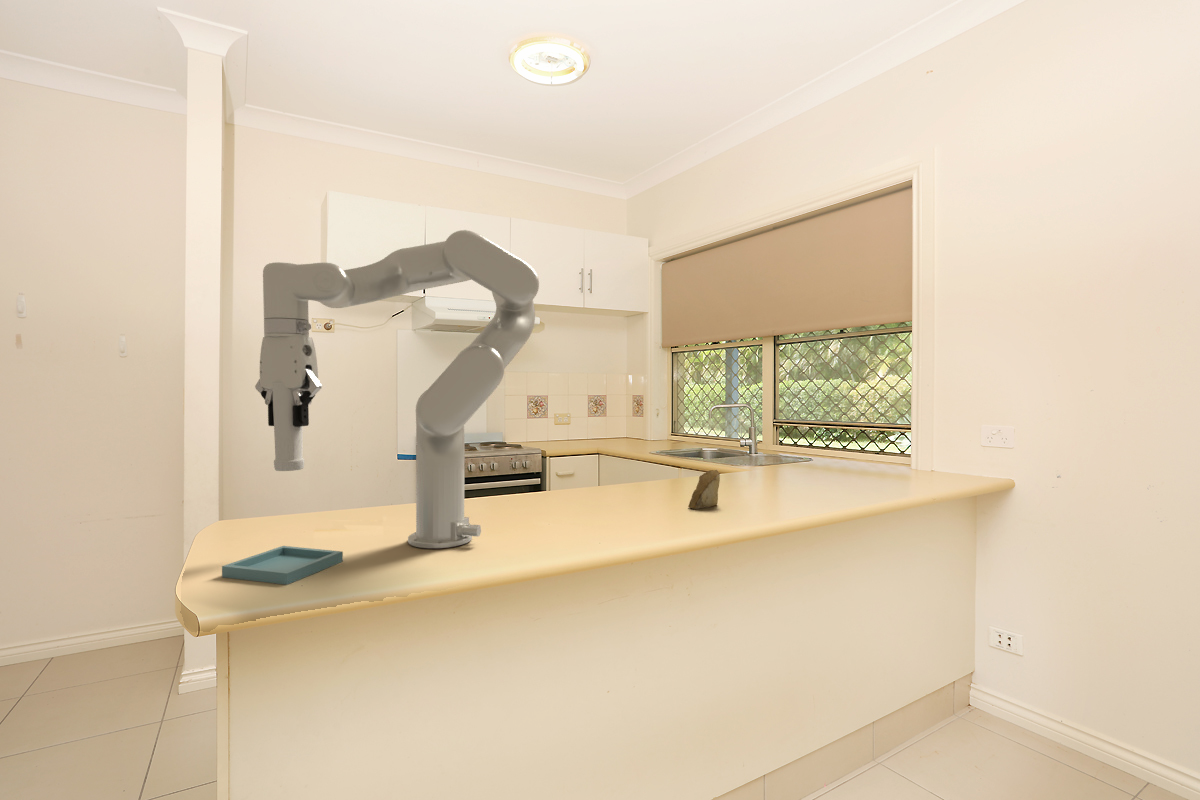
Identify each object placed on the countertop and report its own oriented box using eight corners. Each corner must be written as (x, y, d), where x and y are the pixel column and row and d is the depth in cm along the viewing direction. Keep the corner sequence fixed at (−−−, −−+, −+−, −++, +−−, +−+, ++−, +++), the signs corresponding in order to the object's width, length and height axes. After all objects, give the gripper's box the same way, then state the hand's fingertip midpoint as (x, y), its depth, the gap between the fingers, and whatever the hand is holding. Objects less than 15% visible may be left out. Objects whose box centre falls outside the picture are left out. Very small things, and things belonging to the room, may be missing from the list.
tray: (342, 561, 107) (342, 551, 107) (287, 584, 95) (287, 573, 95) (283, 555, 111) (283, 545, 111) (222, 577, 98) (221, 566, 98)
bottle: (272, 472, 110) (270, 336, 109) (275, 468, 115) (272, 338, 114) (304, 470, 112) (301, 337, 111) (305, 466, 117) (302, 339, 116)
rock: (695, 503, 151) (730, 496, 154) (683, 474, 156) (717, 467, 159) (684, 521, 160) (717, 513, 163) (673, 492, 164) (705, 486, 167)
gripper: (338, 330, 113) (339, 425, 114) (268, 332, 119) (270, 423, 119) (307, 326, 106) (309, 428, 107) (234, 329, 112) (236, 426, 112)
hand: (288, 424), depth 113 cm, fingers closed on bottle, 5 cm apart
